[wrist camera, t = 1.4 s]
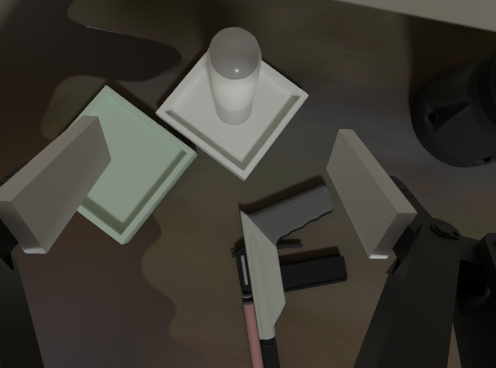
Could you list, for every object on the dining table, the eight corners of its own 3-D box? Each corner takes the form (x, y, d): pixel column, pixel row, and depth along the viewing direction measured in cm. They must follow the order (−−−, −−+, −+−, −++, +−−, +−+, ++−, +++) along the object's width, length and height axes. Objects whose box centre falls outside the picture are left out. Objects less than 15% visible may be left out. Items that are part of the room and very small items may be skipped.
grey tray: (223, 41, 38) (223, 31, 36) (304, 101, 38) (308, 94, 36) (159, 118, 36) (155, 112, 34) (244, 181, 36) (245, 179, 34)
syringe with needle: (376, 426, 32) (260, 453, 31) (367, 411, 34) (258, 436, 33) (331, 182, 35) (223, 199, 34) (325, 184, 37) (223, 199, 36)
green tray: (113, 91, 36) (106, 85, 34) (197, 155, 36) (195, 151, 34) (39, 175, 34) (27, 173, 32) (128, 242, 34) (121, 244, 32)
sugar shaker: (230, 83, 37) (229, 13, 24) (259, 104, 36) (273, 46, 24) (208, 110, 36) (194, 54, 23) (237, 132, 36) (240, 88, 23)
